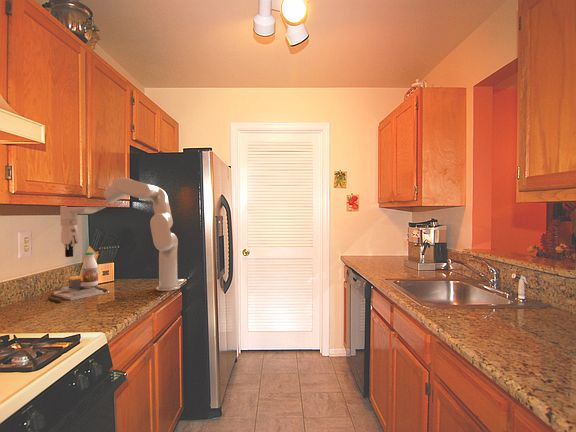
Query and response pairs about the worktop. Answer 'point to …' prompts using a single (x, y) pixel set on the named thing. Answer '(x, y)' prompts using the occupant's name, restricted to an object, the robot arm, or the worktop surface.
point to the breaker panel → (77, 292)
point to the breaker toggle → (75, 282)
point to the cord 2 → (100, 289)
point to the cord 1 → (55, 299)
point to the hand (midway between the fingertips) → (69, 256)
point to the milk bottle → (90, 270)
